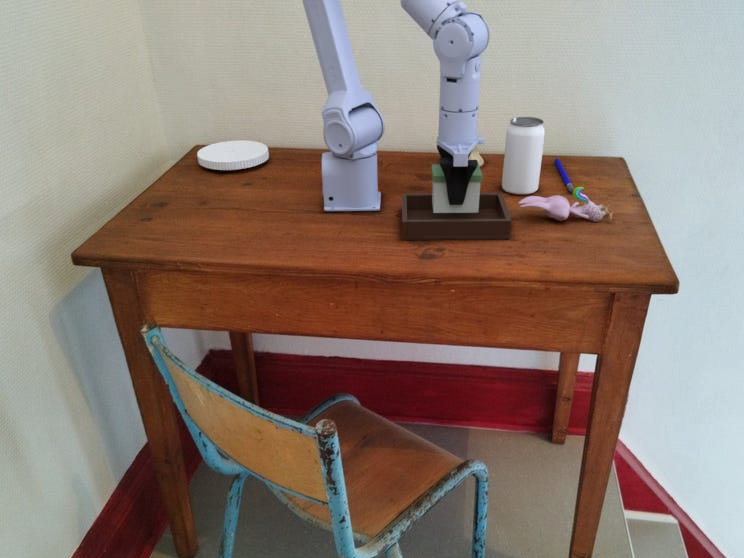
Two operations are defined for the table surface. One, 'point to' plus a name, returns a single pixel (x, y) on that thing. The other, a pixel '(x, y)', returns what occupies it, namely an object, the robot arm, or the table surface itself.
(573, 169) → the table surface
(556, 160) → the pencil
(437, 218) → the tray
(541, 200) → the rabbit figure
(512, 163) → the can
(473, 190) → the container
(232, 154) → the plastic lid
